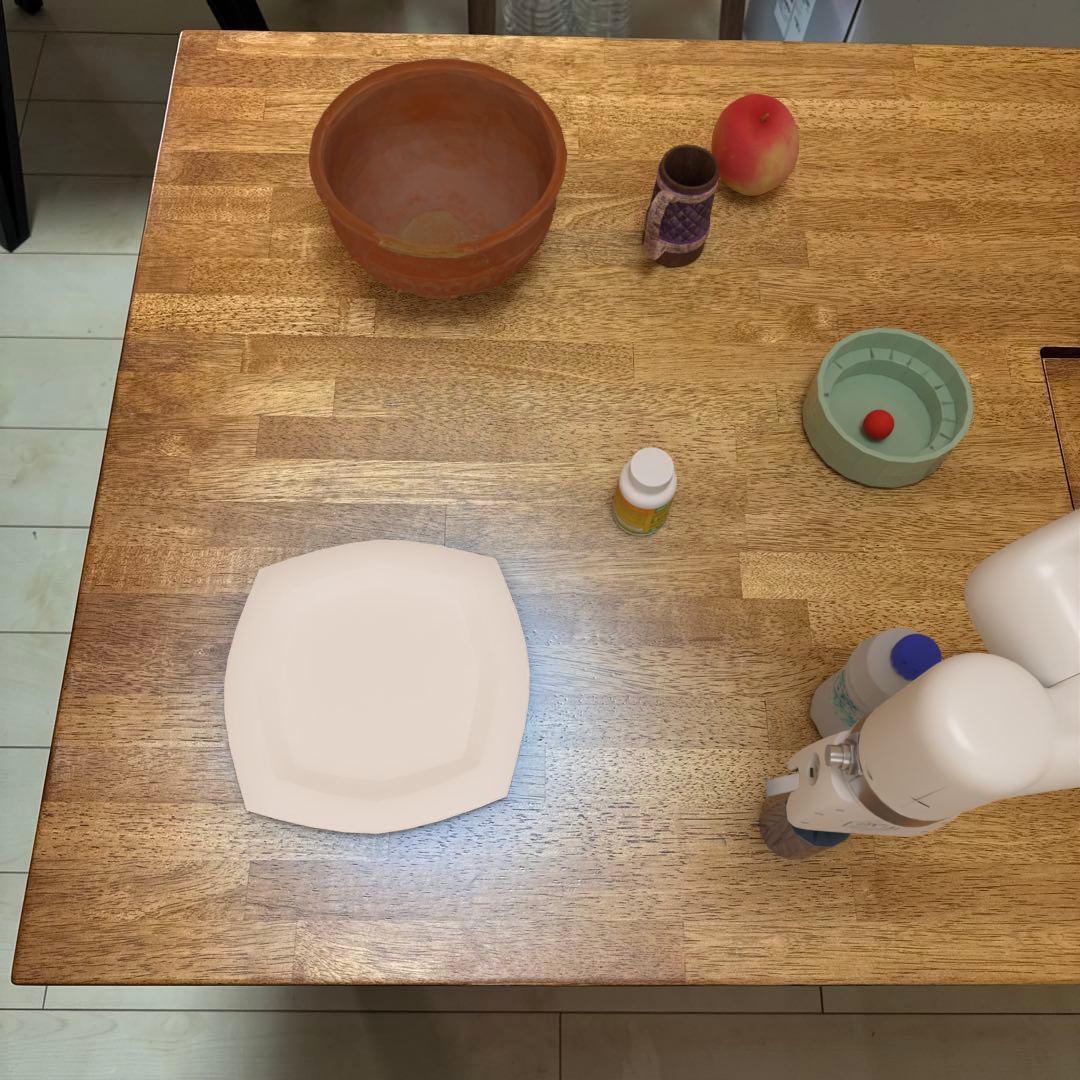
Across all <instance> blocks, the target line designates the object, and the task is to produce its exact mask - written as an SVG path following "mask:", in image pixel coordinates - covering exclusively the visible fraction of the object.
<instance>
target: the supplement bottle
mask: <svg viewBox="0 0 1080 1080" xmlns="http://www.w3.org/2000/svg"><path fill="white" fill-rule="evenodd" d="M677 488H678V477H677V473H676V471H675V464H674V461H673V459H672V457H671V455H669V453H667V452H666V451H664V450H663V449H661V448H659V447H655V446H654V447H653V446H650V447H644V448H640V449H639V450H638V451H636V452H635V453H634V455H632V457H631V458H630V459H629V460H628V461H627V462H625V464H624V465H623V466H622V468H621V470H620V472H619V476H618V480H617V484H616V489H615V494H614V497H613V502H612V509H611V510H612V511H611V512H612V516H613V519H614V521H615V524H616V525H618V527H619V528H620V529H621V530H622V531H624V532H625V533H628V534H630V535H632V536H637V537H645V536H649V535H652V534H654V533H656V532H657V531H659V530H660V529H661V528H662V527H663V526H664V524H665V522H666V520H667V517H668V515H669V513H670V510H671V507H672V504H673V501H674V497H675V495H676V493H677Z"/></svg>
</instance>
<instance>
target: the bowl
mask: <svg viewBox="0 0 1080 1080" xmlns="http://www.w3.org/2000/svg"><path fill="white" fill-rule="evenodd" d="M567 161H568V151H567V145H566V140H565V137H564V133H563V128H562V126H561V124H560V122H559V120H558V118H557V116H556V114H555V112H554V110H553V109H552V108H551V107H550V106H549V104H548V103H547V102H546V101H545V100H544V98H543V97H542V96H541V95H540V93H538V92H537V90H536V91H535V90H534V89H533V88H532V87H530V86H529V85H528V84H527V83H525V82H524V81H523V80H521V79H520V78H518V77H515V76H513V75H511V74H509V73H507V72H505V71H503V70H501V69H498V68H495V67H493V66H490V65H488V64H485V63H480V62H475V61H470V60H465V59H460V58H459V59H458V58H426V59H420V60H414V61H408V62H407V61H406V62H402V63H401V62H399V63H395V64H391V65H389V66H386V67H383V68H380V69H377V70H374V71H373V72H371V73H369V74H367V75H366V76H364V77H362V78H360V79H358V80H356V81H354V82H353V83H351V84H349V85H348V86H347V87H346V88H344V89H343V91H341V92H340V93H339V94H338V95H337V96H336V97H334V99H333V100H332V101H331V103H330V104H329V105H328V106H327V107H326V108H325V110H324V111H323V112H322V114H321V116H320V118H319V121H318V122H317V124H316V125H315V128H314V130H313V131H312V136H311V141H310V147H309V153H308V168H309V174H310V179H311V181H312V184H313V186H314V190H315V192H316V195H318V197H319V199H320V200H321V201H320V202H322V204H323V205H324V206H325V208H326V209H327V212H328V215H329V217H330V223H331V226H332V227H333V231H334V232H335V234H336V235H337V237H338V238H339V239H340V242H341V243H342V245H343V247H344V248H345V249H346V250H347V252H348V253H349V254H350V256H351V257H352V258H353V259H354V260H355V262H356V263H357V265H358V266H360V267H361V268H362V269H363V270H364V271H365V272H366V273H367V274H368V275H369V276H371V277H373V278H375V279H376V280H377V281H379V282H381V283H382V284H383V285H385V286H387V287H388V288H391V289H393V290H395V292H398V293H401V294H402V293H404V292H406V293H410V294H413V295H416V296H419V297H420V298H430V299H435V300H449V301H450V300H456V299H458V298H459V297H460V296H472V295H475V294H479V293H482V292H484V291H487V290H490V289H494V288H495V287H498V286H500V285H502V284H504V283H505V282H507V280H508V279H513V277H515V276H517V274H518V273H519V272H521V270H522V269H523V268H524V267H525V266H526V265H528V263H529V262H530V260H531V259H532V257H533V256H534V255H535V254H536V253H537V252H538V250H539V249H540V247H541V246H542V245H543V243H544V240H545V238H546V237H547V234H548V232H549V231H550V229H551V228H550V227H551V226H552V223H553V220H554V214H555V212H556V207H557V206H556V205H557V197H558V195H559V193H560V191H561V189H562V186H563V184H564V180H565V177H566V172H567V171H566V169H567Z"/></svg>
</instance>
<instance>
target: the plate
mask: <svg viewBox="0 0 1080 1080" xmlns="http://www.w3.org/2000/svg"><path fill="white" fill-rule="evenodd" d="M257 571H258V572H257V574H256V576H255V578H254V581H253V583H252V586H251V588H250V591H249V592H248V595H247V597H246V601H245V604H244V605H243V609H242V612H241V614H240V617H239V619H238V622H237V624H236V627H235V631H234V634H233V638H232V641H231V644H230V648H229V652H228V656H227V661H226V667H225V674H224V683H223V707H224V708H223V714H224V719H225V720H224V721H225V727H226V735H227V742H228V746H229V750H230V754H231V758H232V762H233V767H234V771H235V775H236V779H237V782H238V786H239V789H240V793H241V797H242V801H243V804H244V806H245V810H246V811H247V812H249V813H250V812H251V813H253V814H256V815H260V816H263V817H268V818H271V819H274V820H279V821H283V822H287V823H291V824H294V825H295V824H296V825H301V826H305V827H309V828H314V829H321V830H325V831H326V830H328V831H333V832H341V833H350V834H351V833H352V834H373V835H374V834H376V835H378V834H385V833H391V832H398V831H404V830H411V829H414V828H418V827H422V826H426V825H429V824H430V825H431V824H434V823H437V822H440V821H444V820H447V819H450V818H453V817H456V816H458V815H462V814H464V813H467V812H470V811H473V810H476V809H479V808H481V807H485V806H486V805H490V804H491V803H494V802H496V801H499V800H501V799H504V798H507V797H508V794H509V791H510V787H511V783H512V779H513V776H514V773H515V769H516V765H517V762H518V759H519V753H520V749H521V745H522V741H523V737H524V733H525V730H526V729H525V728H526V724H527V723H526V722H527V715H528V708H529V703H530V683H531V682H530V680H531V679H530V678H531V669H530V661H529V654H528V647H527V642H526V638H525V634H524V631H523V626H522V623H521V619H520V616H519V613H518V610H517V607H516V605H515V602H514V600H513V597H512V594H511V592H510V589H509V586H508V583H507V581H506V579H505V577H504V574H503V572H502V569H501V567H500V564H499V561H498V560H497V558H494V557H491V556H486V555H483V554H480V553H477V552H476V553H475V552H471V551H468V550H463V549H459V548H453V547H449V546H444V545H439V544H433V543H426V542H421V541H413V540H404V539H403V540H402V539H401V540H400V539H383V538H377V539H370V540H362V541H355V542H347V543H344V544H338V545H334V546H330V547H326V548H322V549H318V550H314V551H311V552H308V553H304V554H301V555H296V556H294V557H291V558H286V559H284V560H280V561H278V562H275V563H273V564H270V565H267V566H264V567H261V568H259V569H258V570H257Z"/></svg>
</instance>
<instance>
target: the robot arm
mask: <svg viewBox="0 0 1080 1080" xmlns="http://www.w3.org/2000/svg"><path fill="white" fill-rule="evenodd" d="M963 600H964V606H965V609H966V612H967V615H968V617H969V619H970V620H971V623H972V625H973V626H974V628H975V630H976V633H978V636H979V637H980V639H981V641H982V643H983V644H984V647H985V648H986V650H987V652H988V653H986V652H964V653H958V654H956V655H955V654H954V655H952V656H950V657H947V658H945V659H942V660H943V661H941V662H939V663H937V664H936V665H934V666H933V667H931V668H930V669H928V670H927V671H926V672H924V673H923V674H922V675H920V676H919V677H918V678H916V679H915V680H914V681H912V682H911V683H909V684H908V685H907V686H905V687H904V688H903V689H901V690H900V691H899V692H897V693H896V694H895V695H893V696H892V697H891V698H889V699H888V700H886V701H885V702H884V703H882V704H881V705H879V706H878V707H877V708H875V709H874V710H872V711H871V712H870V713H868V714H867V715H865V716H864V717H863V718H861V719H860V720H859V721H858V722H856V724H855V725H854V726H853V727H852V728H851V729H850V730H848V731H843V732H840V733H837V734H834V735H831V736H829V737H826V738H823V737H822V738H821V739H819V740H816V741H814V742H812V743H809V744H808V745H806V746H805V747H803V748H801V749H800V750H798V751H797V752H795V753H794V754H793V755H792V756H791V757H790V758H789V760H788V761H787V763H785V768H787V769H788V771H789V772H795V773H791V774H786V775H783V776H778V777H774V778H770V779H769V778H768V779H766V780H765V793H766V794H765V795H766V796H765V797H766V798H767V799H776V800H783V801H787V804H786V812H787V820H788V821H789V823H791V824H792V825H793V826H794V827H797V828H801V829H807V830H817V831H829V832H842V833H851V834H854V835H855V834H857V835H869V836H870V835H871V836H887V837H920V836H924V835H925V834H929V833H930V832H933V831H935V830H937V829H940V828H942V827H944V826H945V825H947V824H949V823H951V822H952V821H955V819H957V818H958V817H959V816H960V815H962V814H964V813H967V812H969V811H972V810H975V809H977V808H979V807H982V806H985V805H988V804H991V803H994V802H996V801H1001V800H1007V799H1011V798H1019V797H1024V796H1029V795H1030V796H1031V795H1037V794H1043V793H1048V792H1049V793H1050V792H1057V791H1064V790H1071V789H1077V788H1079V789H1080V507H1079V508H1076V509H1075V510H1073V511H1070V512H1069V513H1067V514H1065V515H1062V516H1061V517H1059V518H1057V519H1055V520H1053V521H1051V522H1049V523H1047V524H1045V525H1043V526H1041V527H1039V528H1037V529H1035V530H1033V531H1031V532H1029V533H1026V534H1025V535H1023V536H1021V537H1020V538H1017V539H1015V540H1014V541H1012V542H1010V543H1008V544H1006V545H1004V546H1003V547H1001V548H1000V549H998V550H997V551H995V552H993V553H992V554H990V555H989V556H987V557H986V558H985V559H984V560H982V561H981V562H980V563H979V564H977V566H976V567H975V568H974V569H973V570H972V572H971V573H970V574H969V576H968V577H967V580H966V582H965V584H964V589H963Z"/></svg>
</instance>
